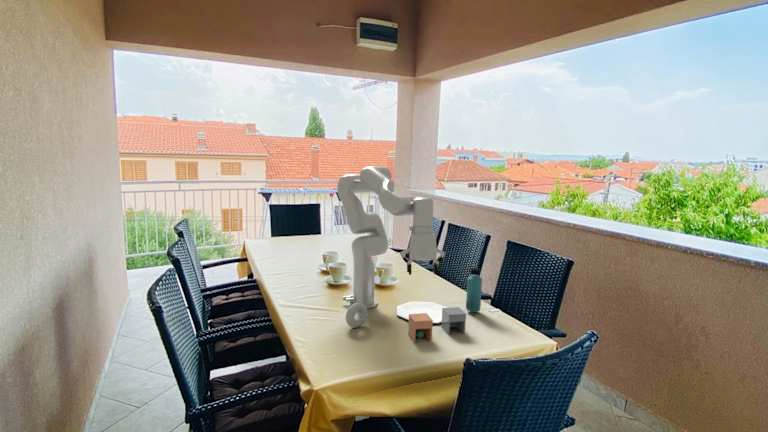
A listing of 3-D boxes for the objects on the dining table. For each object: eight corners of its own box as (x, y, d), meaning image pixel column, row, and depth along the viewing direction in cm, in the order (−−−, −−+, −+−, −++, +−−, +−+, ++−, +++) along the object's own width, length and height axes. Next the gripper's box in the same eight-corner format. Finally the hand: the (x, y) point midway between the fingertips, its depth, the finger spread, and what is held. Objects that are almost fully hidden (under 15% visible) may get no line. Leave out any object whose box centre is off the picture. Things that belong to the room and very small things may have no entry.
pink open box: (413, 342, 146) (414, 321, 145) (408, 334, 153) (409, 314, 152) (431, 340, 148) (432, 320, 147) (425, 332, 154) (426, 313, 153)
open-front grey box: (447, 334, 153) (449, 314, 152) (441, 327, 160) (442, 308, 159) (464, 333, 155) (466, 313, 154) (457, 325, 162) (458, 307, 161)
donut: (348, 332, 153) (349, 307, 152) (343, 329, 156) (343, 304, 154) (369, 325, 160) (369, 301, 159) (363, 322, 162) (364, 299, 161)
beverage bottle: (481, 310, 179) (483, 267, 176) (479, 316, 172) (482, 271, 170) (466, 308, 181) (468, 265, 178) (464, 314, 174) (466, 269, 172)
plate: (396, 303, 186) (396, 300, 185) (447, 305, 185) (447, 302, 185) (396, 324, 162) (396, 321, 162) (455, 327, 162) (455, 323, 161)
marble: (417, 339, 149) (417, 331, 148) (414, 336, 151) (415, 328, 151) (424, 338, 149) (425, 331, 149) (422, 335, 152) (422, 327, 152)
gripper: (401, 231, 148) (400, 276, 150) (447, 231, 149) (446, 276, 151) (399, 228, 155) (399, 271, 157) (443, 228, 156) (442, 271, 158)
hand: (422, 273), depth 154 cm, fingers open, 9 cm apart
